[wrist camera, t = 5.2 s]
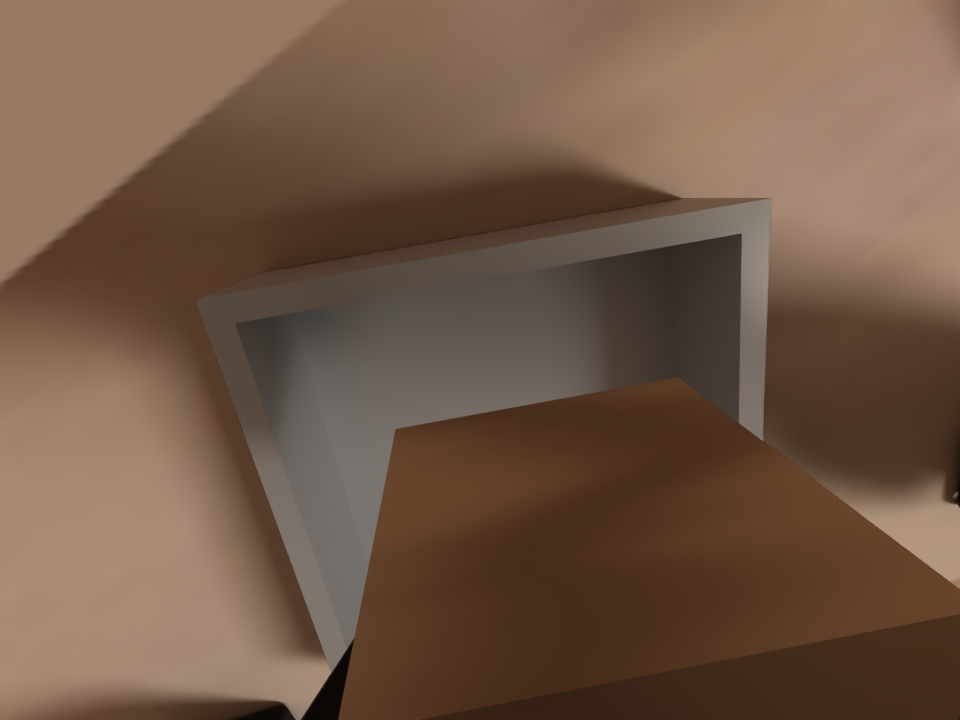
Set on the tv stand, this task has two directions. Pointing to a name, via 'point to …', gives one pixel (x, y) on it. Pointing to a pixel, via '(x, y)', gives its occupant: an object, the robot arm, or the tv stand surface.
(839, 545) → the walnut cube
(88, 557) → the tv stand surface
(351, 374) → the tote
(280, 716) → the battery
